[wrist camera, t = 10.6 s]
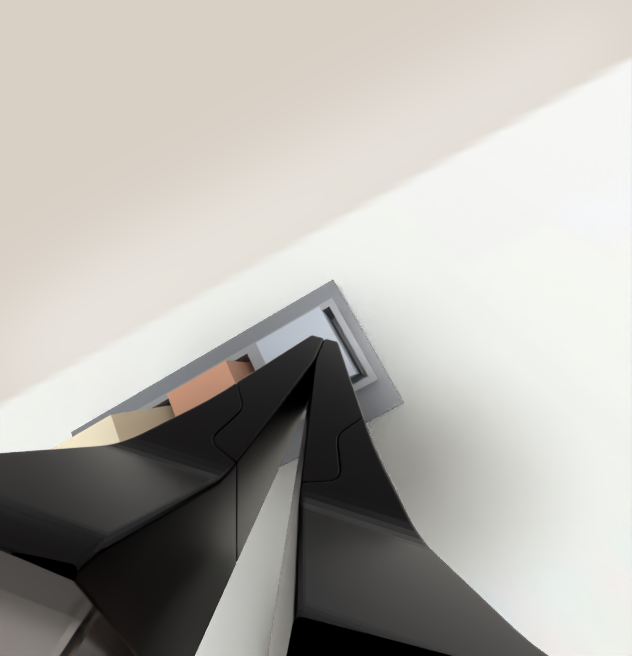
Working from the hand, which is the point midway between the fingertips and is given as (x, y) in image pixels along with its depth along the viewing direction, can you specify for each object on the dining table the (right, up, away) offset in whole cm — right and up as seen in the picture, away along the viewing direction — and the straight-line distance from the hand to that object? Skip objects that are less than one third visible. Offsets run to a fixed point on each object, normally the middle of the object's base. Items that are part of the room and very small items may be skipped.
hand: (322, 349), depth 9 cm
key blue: (0, -2, +12) cm, 12 cm away
